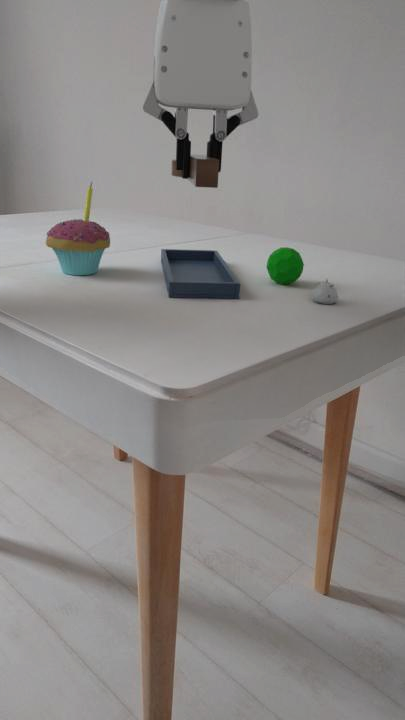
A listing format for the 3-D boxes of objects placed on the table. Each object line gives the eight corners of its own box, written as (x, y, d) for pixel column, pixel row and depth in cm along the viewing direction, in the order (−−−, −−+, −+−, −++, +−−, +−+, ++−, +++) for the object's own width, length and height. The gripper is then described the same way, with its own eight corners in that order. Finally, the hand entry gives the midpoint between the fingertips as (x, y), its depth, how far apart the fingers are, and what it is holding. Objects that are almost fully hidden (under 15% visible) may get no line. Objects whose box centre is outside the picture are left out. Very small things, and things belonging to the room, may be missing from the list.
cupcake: (95, 263, 84) (93, 178, 79) (121, 275, 77) (121, 184, 73) (39, 268, 79) (33, 178, 75) (61, 281, 73) (57, 185, 68)
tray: (168, 297, 68) (169, 282, 68) (161, 261, 87) (161, 248, 87) (239, 298, 69) (240, 283, 69) (216, 262, 88) (217, 250, 88)
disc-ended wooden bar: (170, 173, 71) (170, 151, 70) (211, 175, 71) (212, 154, 70) (180, 186, 55) (181, 158, 54) (232, 188, 56) (234, 160, 55)
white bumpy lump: (330, 297, 72) (333, 277, 71) (343, 306, 69) (346, 285, 68) (307, 297, 72) (309, 277, 71) (318, 306, 68) (321, 285, 67)
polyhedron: (257, 280, 78) (260, 246, 77) (282, 277, 81) (286, 244, 79) (283, 289, 75) (287, 253, 73) (308, 285, 78) (312, 250, 76)
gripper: (275, 0, 61) (260, 179, 68) (126, -13, 59) (126, 173, 66) (293, -17, 54) (275, 184, 61) (124, -32, 52) (125, 177, 59)
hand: (197, 177), depth 63 cm, fingers closed on disc-ended wooden bar, 2 cm apart
